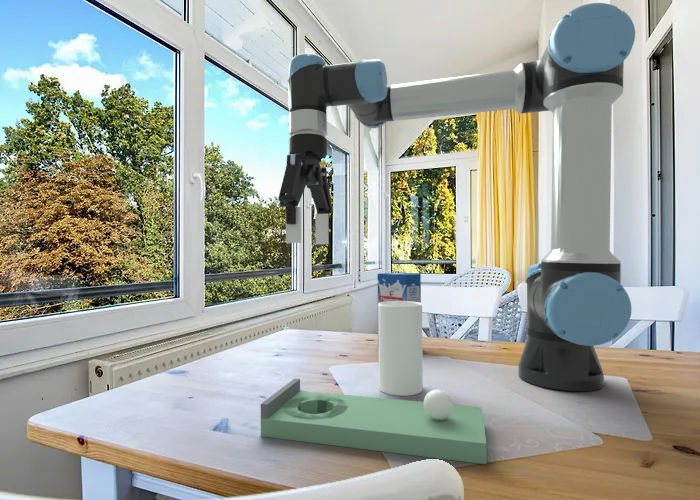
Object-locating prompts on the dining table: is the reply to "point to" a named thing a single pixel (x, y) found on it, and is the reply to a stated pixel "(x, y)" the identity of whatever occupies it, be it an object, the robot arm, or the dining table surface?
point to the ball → (438, 404)
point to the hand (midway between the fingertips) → (309, 243)
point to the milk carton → (399, 287)
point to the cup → (400, 347)
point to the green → (374, 424)
